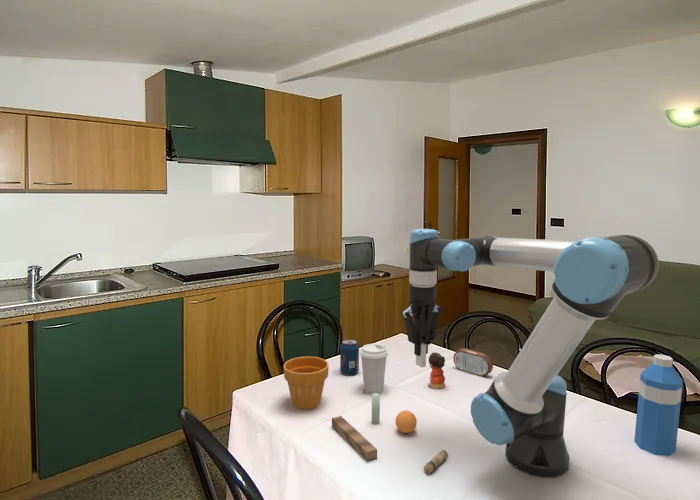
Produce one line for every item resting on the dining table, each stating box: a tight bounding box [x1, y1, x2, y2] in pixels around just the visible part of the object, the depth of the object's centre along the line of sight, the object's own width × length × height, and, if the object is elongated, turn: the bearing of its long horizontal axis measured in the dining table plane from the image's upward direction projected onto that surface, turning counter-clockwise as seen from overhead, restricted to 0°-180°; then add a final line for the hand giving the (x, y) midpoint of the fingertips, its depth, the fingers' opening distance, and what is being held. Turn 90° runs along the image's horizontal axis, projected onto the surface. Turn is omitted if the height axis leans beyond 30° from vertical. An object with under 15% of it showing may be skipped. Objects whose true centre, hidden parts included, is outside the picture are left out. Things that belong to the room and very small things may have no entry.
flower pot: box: [283, 356, 329, 410], centre depth 151 cm, size 14×14×13 cm
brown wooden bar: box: [331, 415, 378, 462], centre depth 129 cm, size 20×3×2 cm, turn 29°
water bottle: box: [633, 353, 684, 457], centre depth 125 cm, size 9×9×25 cm
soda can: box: [339, 338, 360, 376], centre depth 175 cm, size 7×7×12 cm
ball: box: [395, 410, 418, 434], centre depth 134 cm, size 6×6×6 cm
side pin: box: [371, 393, 381, 425], centre depth 139 cm, size 2×2×8 cm
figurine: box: [427, 352, 446, 390], centre depth 163 cm, size 6×6×12 cm
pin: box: [423, 449, 449, 475], centre depth 118 cm, size 2×2×9 cm
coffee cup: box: [359, 343, 389, 395], centre depth 160 cm, size 10×10×15 cm
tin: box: [453, 347, 494, 377], centre depth 175 cm, size 15×3×8 cm, turn 49°
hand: (420, 365), depth 135 cm, fingers closed
